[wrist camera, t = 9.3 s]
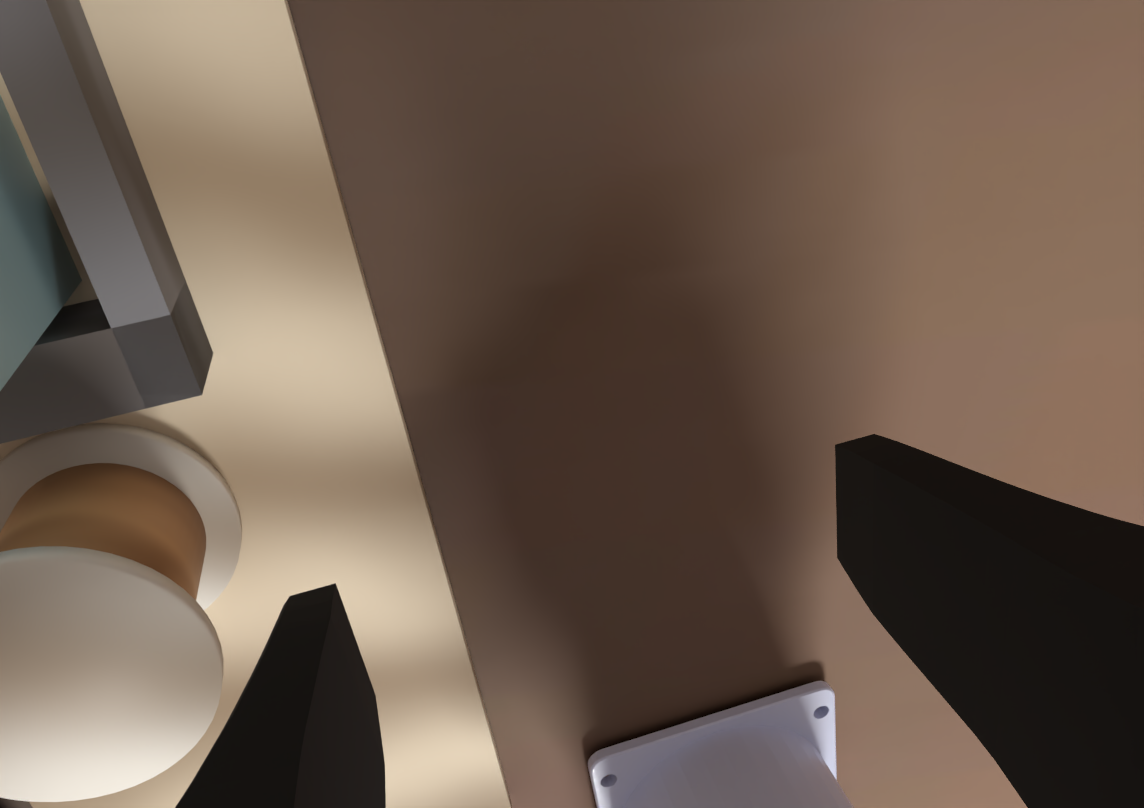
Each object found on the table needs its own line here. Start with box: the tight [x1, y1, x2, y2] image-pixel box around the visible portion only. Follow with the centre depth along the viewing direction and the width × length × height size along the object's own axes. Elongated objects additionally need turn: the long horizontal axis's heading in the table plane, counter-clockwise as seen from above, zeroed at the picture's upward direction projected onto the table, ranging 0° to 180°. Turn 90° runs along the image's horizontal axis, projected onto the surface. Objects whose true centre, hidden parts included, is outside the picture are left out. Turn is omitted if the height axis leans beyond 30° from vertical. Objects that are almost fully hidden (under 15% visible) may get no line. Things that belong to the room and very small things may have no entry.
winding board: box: [0, 0, 512, 808], centre depth 18 cm, size 26×11×6 cm, turn 9°
